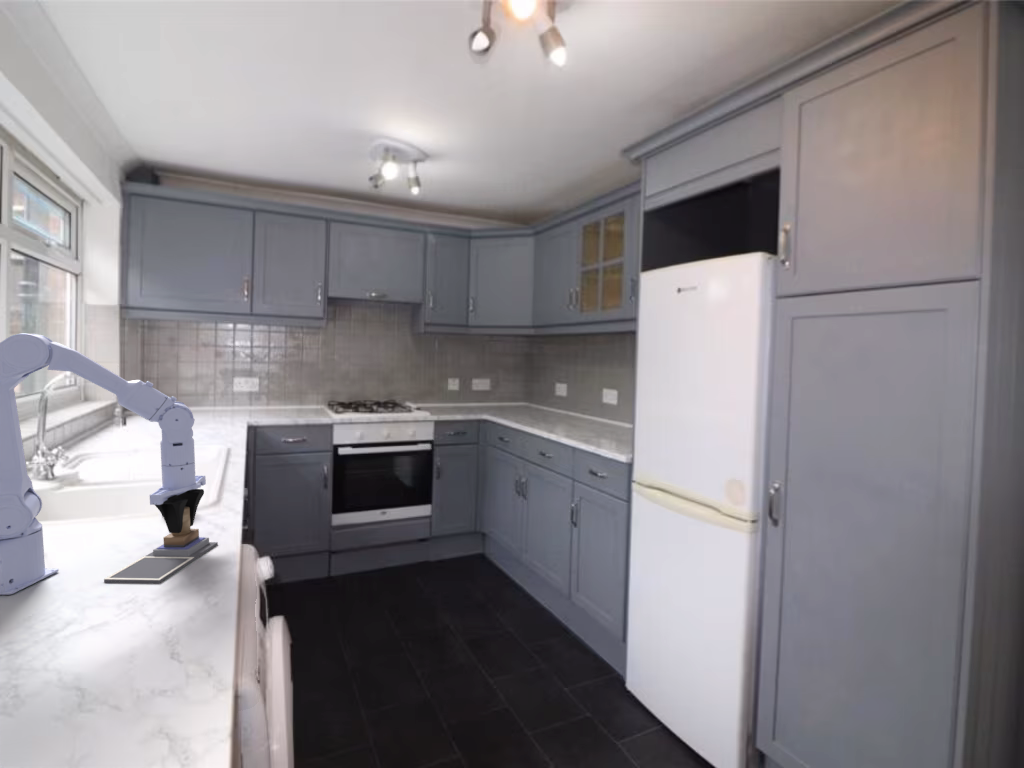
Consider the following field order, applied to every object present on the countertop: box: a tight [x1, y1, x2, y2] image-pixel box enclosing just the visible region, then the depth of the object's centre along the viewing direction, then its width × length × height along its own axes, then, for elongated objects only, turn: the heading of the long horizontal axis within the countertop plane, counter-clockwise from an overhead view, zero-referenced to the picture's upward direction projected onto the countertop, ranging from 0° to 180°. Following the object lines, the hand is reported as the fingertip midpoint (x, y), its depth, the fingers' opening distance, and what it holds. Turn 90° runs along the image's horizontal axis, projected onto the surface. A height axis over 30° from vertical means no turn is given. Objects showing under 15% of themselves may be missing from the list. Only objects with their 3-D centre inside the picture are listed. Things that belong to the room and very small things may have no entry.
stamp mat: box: [103, 536, 219, 584], centre depth 103 cm, size 18×10×2 cm, turn 179°
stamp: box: [163, 507, 200, 547], centre depth 108 cm, size 5×4×7 cm
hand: (181, 529), depth 108 cm, fingers closed on stamp, 3 cm apart
